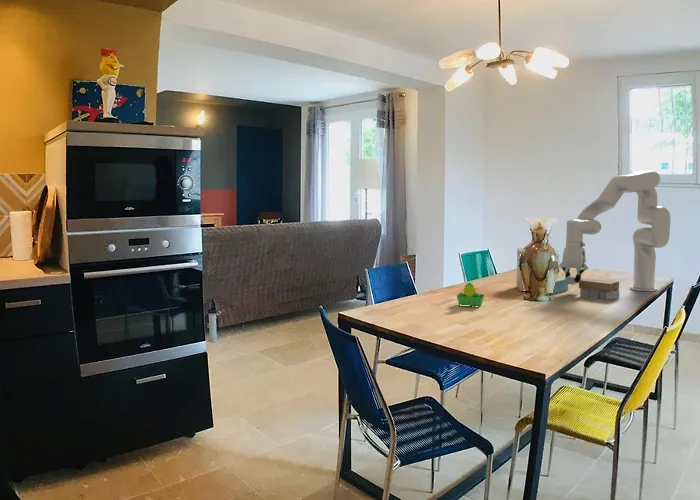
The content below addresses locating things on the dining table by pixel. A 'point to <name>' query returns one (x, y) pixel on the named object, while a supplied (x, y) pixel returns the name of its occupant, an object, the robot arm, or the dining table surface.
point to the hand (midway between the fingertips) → (572, 281)
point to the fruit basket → (470, 296)
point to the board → (599, 284)
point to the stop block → (560, 286)
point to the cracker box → (519, 279)
